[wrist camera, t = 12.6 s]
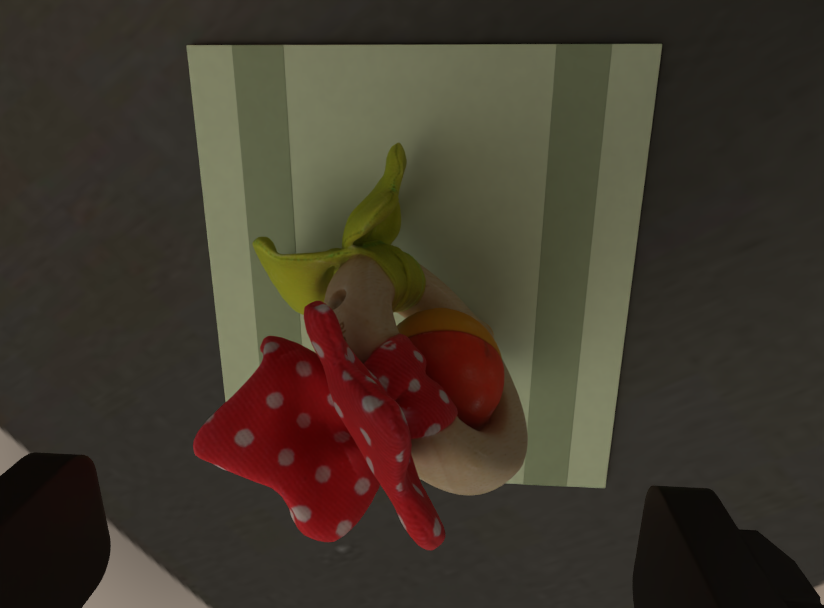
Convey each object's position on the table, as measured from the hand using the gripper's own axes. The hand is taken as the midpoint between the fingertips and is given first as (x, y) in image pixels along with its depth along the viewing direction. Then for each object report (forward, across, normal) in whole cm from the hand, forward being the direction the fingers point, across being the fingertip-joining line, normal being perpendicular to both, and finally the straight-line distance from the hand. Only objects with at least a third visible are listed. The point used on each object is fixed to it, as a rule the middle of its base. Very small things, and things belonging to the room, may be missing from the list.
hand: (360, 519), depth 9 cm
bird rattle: (+12, 0, 0) cm, 12 cm away
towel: (+12, 0, 0) cm, 12 cm away
